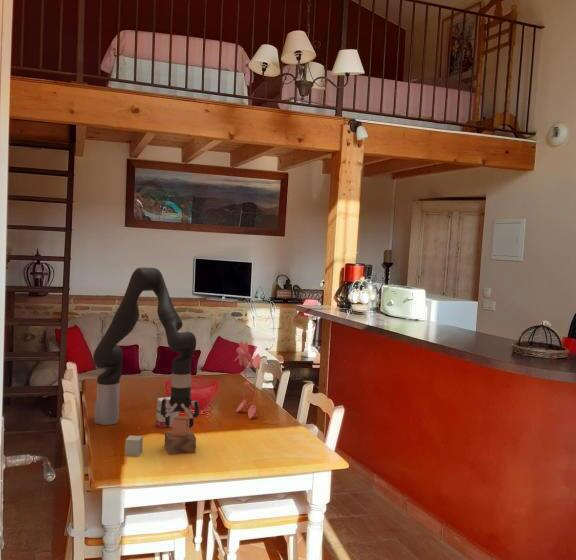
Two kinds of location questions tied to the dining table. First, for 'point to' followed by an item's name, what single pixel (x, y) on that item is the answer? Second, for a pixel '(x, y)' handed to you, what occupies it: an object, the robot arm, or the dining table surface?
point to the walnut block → (180, 443)
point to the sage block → (133, 445)
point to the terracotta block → (180, 426)
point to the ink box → (161, 418)
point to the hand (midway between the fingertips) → (179, 426)
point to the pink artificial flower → (243, 359)
